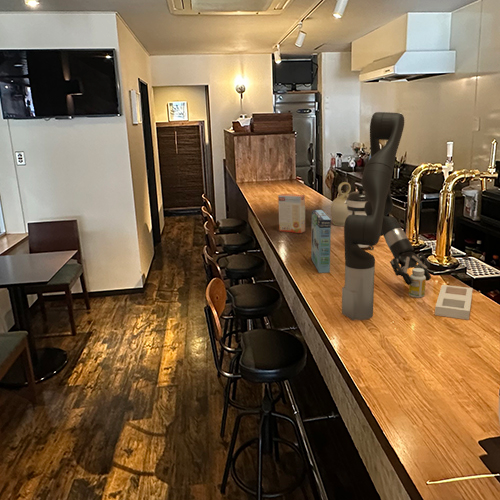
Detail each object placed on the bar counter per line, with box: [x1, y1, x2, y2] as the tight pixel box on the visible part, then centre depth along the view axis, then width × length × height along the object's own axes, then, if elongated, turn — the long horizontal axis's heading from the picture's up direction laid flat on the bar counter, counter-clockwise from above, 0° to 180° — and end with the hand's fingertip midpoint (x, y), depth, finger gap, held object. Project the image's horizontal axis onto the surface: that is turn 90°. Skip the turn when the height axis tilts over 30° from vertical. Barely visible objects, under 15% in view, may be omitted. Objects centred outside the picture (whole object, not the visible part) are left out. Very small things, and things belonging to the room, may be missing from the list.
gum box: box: [310, 209, 332, 274], centre depth 199 cm, size 20×5×23 cm, turn 2°
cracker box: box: [277, 193, 306, 234], centre depth 260 cm, size 14×6×21 cm, turn 58°
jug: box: [330, 181, 352, 227], centre depth 271 cm, size 15×16×25 cm
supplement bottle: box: [408, 267, 427, 299], centre depth 165 cm, size 5×5×10 cm
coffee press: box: [344, 185, 388, 251], centre depth 222 cm, size 17×16×30 cm
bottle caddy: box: [434, 284, 473, 321], centre depth 156 cm, size 21×10×3 cm, turn 153°
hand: (419, 281), depth 164 cm, fingers open, 8 cm apart
